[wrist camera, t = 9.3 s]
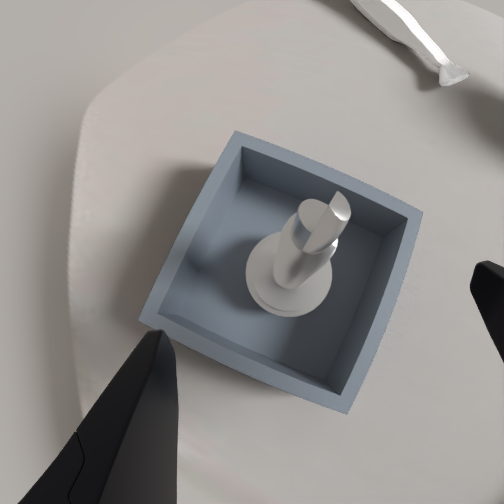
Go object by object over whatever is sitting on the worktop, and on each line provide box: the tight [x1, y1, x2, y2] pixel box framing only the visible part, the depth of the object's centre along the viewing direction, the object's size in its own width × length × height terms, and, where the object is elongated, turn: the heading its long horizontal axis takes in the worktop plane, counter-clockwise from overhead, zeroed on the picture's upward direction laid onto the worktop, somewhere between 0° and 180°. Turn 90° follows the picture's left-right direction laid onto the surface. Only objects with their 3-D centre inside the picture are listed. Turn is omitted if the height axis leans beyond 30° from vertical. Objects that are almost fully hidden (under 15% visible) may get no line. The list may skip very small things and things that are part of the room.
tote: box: [138, 131, 423, 414], centre depth 18 cm, size 12×12×5 cm
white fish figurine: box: [350, 0, 469, 86], centre depth 24 cm, size 6×18×4 cm, turn 32°
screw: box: [246, 191, 351, 317], centre depth 14 cm, size 13×5×5 cm
